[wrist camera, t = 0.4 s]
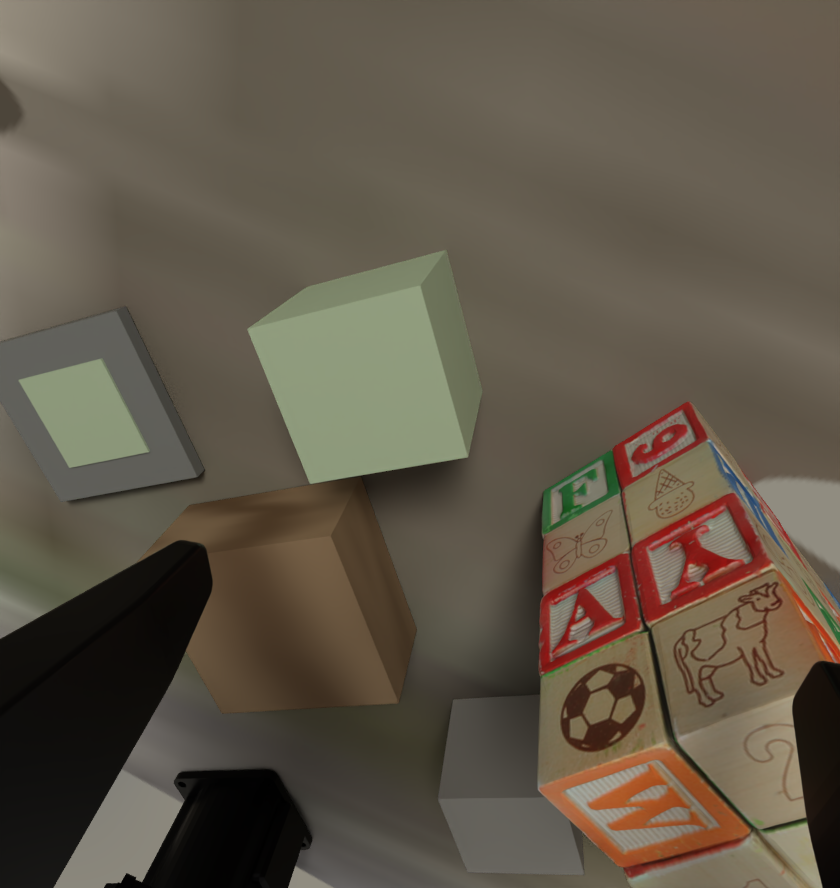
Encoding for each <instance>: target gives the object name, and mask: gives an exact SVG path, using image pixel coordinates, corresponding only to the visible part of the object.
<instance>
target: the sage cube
mask: <svg viewBox="0 0 840 888" xmlns="http://www.w3.org/2000/svg"><path fill="white" fill-rule="evenodd" d="M247 330H248V332H249V334H250V337H251V339H252V342H253V344H254V347H255V349H256V352H257V354H258V357H259V359H260V362H261V364H262V367H263V369H264V371H265V374H266V376H267V379H268V381H269V384H270V386H271V389H272V391H273V394H274V396H275V399H276V401H277V404H278V406H279V408H280V411H281V413H282V416H283V418H284V421H285V423H286V426H287V428H288V431H289V433H290V436H291V438H292V441H293V443H294V445H295V448H296V450H297V453H298V455H299V458H300V460H301V463H302V465H303V468H304V470H305V473H306V475H307V478H308V480H309V482H310V484H312V483H318V482H324V481H330V480H336V479H342V478H348V477H354V476H360V475H366V474H372V473H378V472H384V471H389V470H395V469H401V468H407V467H413V466H419V465H425V464H431V463H437V462H443V461H449V460H455V459H461V458H467V457H468V455H469V451H470V446H471V441H472V437H473V432H474V428H475V423H476V419H477V414H478V410H479V405H480V400H481V396H482V387H481V383H480V380H479V376H478V372H477V368H476V364H475V360H474V356H473V352H472V348H471V344H470V340H469V336H468V333H467V329H466V325H465V321H464V317H463V313H462V309H461V305H460V301H459V297H458V293H457V289H456V286H455V282H454V278H453V274H452V270H451V266H450V262H449V258H448V254H447V250H444V251H440V252H437V253H433V254H429V255H425V256H422V257H418V258H414V259H410V260H407V261H403V262H399V263H395V264H392V265H388V266H384V267H380V268H377V269H373V270H369V271H365V272H362V273H358V274H354V275H350V276H347V277H343V278H339V279H335V280H331V281H328V282H324V283H320V284H316V285H313V286H309V287H306V288H305V289H303V290H302V291H301V292H299V293H298V294H296V295H295V296H293V297H292V298H291V299H289V300H288V301H286V302H285V303H283V304H282V305H281V306H279V307H278V308H276V309H275V310H274V311H272V312H271V313H269V314H268V315H266V316H265V317H264V318H262V319H261V320H259V321H258V322H257V323H255V324H254V325H252V326H251V327H249V328H248V329H247Z"/></svg>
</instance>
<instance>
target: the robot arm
mask: <svg viewBox="0 0 840 888" xmlns="http://www.w3.org/2000/svg"><path fill="white" fill-rule="evenodd" d="M212 587H213V578H212V573H211V568H210V563H209V558H208V553H207V550H206V547H205V546H204V545H203V544H201V543H197V542H192V541H186V540H178V541H175V542H173V543H171V544H169V545H168V546H166V547H164V548H162V549H161V550H159V551H157V552H155V553H153V554H152V555H150V556H148V557H146V558H144V559H143V560H141V561H139V562H137V563H135V564H134V565H132V566H130V567H128V568H126V569H125V570H123V571H121V572H119V573H118V574H116V575H114V576H112V577H110V578H109V579H107V580H105V581H103V582H101V583H100V584H98V585H96V586H94V587H92V588H91V589H89V590H87V591H85V592H83V593H82V594H80V595H78V596H76V597H75V598H73V599H71V600H69V601H67V602H66V603H64V604H62V605H60V606H58V607H57V608H55V609H53V610H51V611H49V612H48V613H46V614H44V615H42V616H40V617H39V618H37V619H35V620H33V621H32V622H30V623H28V624H26V625H24V626H23V627H21V628H19V629H17V630H15V631H14V632H12V633H10V634H8V635H6V636H5V637H3V638H1V639H0V888H53V887H54V886H55V884H56V882H57V880H58V879H59V877H60V875H61V873H62V872H63V870H64V868H65V867H66V865H67V863H68V861H69V860H70V858H71V856H72V854H73V853H74V851H75V849H76V847H77V846H78V844H79V842H80V840H81V839H82V837H83V835H84V834H85V832H86V830H87V828H88V826H89V825H90V823H91V821H92V820H93V818H94V816H95V814H96V813H97V811H98V809H99V807H100V806H101V804H102V802H103V801H104V799H105V797H106V795H107V794H108V792H109V790H110V788H111V787H112V785H113V783H114V781H115V780H116V778H117V776H118V774H119V773H120V771H121V769H122V768H123V766H124V764H125V762H126V761H127V759H128V757H129V755H130V754H131V752H132V750H133V748H134V747H135V745H136V743H137V741H138V740H139V738H140V736H141V735H142V733H143V731H144V729H145V728H146V726H147V724H148V722H149V721H150V719H151V717H152V715H153V714H154V712H155V710H156V708H157V707H158V705H159V703H160V702H161V700H162V698H163V696H164V695H165V693H166V691H167V689H168V687H169V685H170V683H171V682H172V680H173V678H174V675H175V673H176V671H177V669H178V667H179V665H180V663H181V660H182V658H183V656H184V654H185V651H186V649H187V647H188V645H189V642H190V640H191V638H192V636H193V633H194V631H195V629H196V627H197V624H198V622H199V620H200V618H201V615H202V613H203V611H204V609H205V606H206V604H207V602H208V599H209V597H210V595H211V592H212ZM792 715H793V723H794V730H795V738H796V745H797V753H798V760H799V768H800V775H801V783H802V790H803V798H804V806H805V812H806V818H807V824H808V829H809V834H810V838H811V843H812V847H813V851H814V855H815V859H816V863H817V868H818V872H819V876H820V880H821V884H822V888H840V664H839V663H834V662H828V661H818V662H816V663H814V665H813V666H812V667H811V669H810V671H809V672H808V674H807V676H806V677H805V679H804V680H803V682H802V684H801V685H800V687H799V689H798V690H797V692H796V694H795V696H794V699H793V703H792ZM174 784H175V786H176V787H177V789H178V790H179V792H180V793H181V795H182V796H183V798H184V799H185V801H184V803H183V805H182V807H181V809H180V811H179V813H178V815H177V817H176V819H175V821H174V823H173V824H172V826H171V828H170V830H169V832H168V834H167V836H166V838H165V840H164V841H163V843H162V845H161V847H160V849H159V851H158V853H157V855H156V857H155V859H154V861H153V862H152V864H151V866H150V868H149V870H148V872H147V874H146V876H145V878H144V880H143V882H140V881H137V880H135V879H136V877H134V876H132V875H130V874H127V873H126V875H125V877H124V878H123V880H122V882H121V883H113V884H111V883H107V884H106V885H105V887H104V888H288V886H289V883H290V880H291V877H292V874H293V871H294V868H295V865H296V862H297V859H298V856H299V853H300V850H307V849H309V848H310V846H311V842H312V837H311V835H310V833H309V832H308V830H307V828H306V826H305V824H304V823H303V821H302V819H301V817H300V815H299V813H298V812H297V810H296V808H295V806H294V804H293V803H292V801H291V799H290V797H289V795H288V794H287V792H286V790H285V788H284V786H283V785H282V783H281V781H280V779H279V777H278V776H277V774H276V773H274V772H273V771H270V770H249V771H214V772H182V773H179V774H178V775H177V777H176V779H175V780H174Z"/></svg>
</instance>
